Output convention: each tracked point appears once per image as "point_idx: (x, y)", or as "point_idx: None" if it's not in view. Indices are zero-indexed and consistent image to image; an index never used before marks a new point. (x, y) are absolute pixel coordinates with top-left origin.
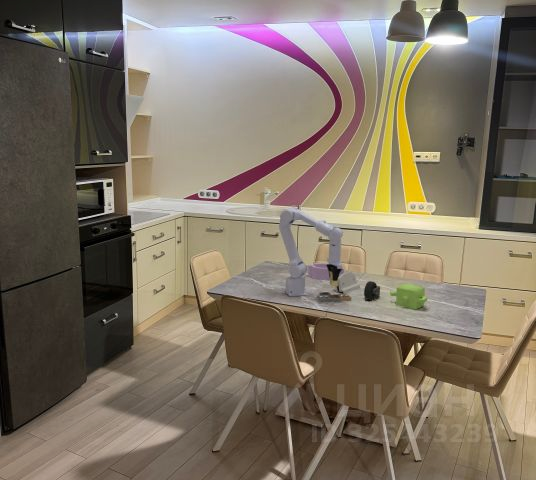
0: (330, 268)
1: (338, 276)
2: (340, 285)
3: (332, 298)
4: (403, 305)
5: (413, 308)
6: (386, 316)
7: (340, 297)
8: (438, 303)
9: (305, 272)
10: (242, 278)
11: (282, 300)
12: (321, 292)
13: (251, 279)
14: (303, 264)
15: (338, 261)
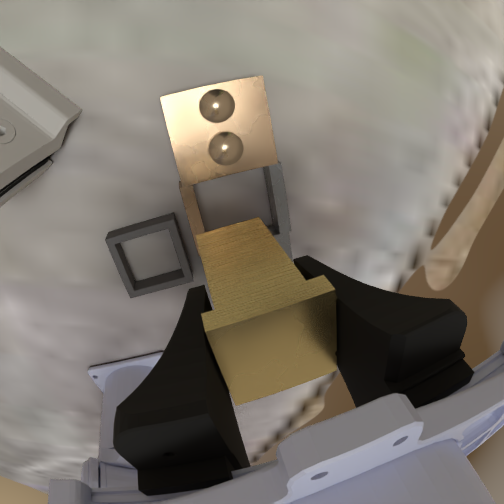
0: (235, 427)
1: (341, 274)
2: (32, 153)
3: (285, 225)
4: None
5: None
6: (482, 11)
7: (261, 162)
8: None
9: (96, 463)
10: (35, 482)
11: (255, 418)
12: (127, 286)
13: (30, 471)
14: None
15: (468, 462)
